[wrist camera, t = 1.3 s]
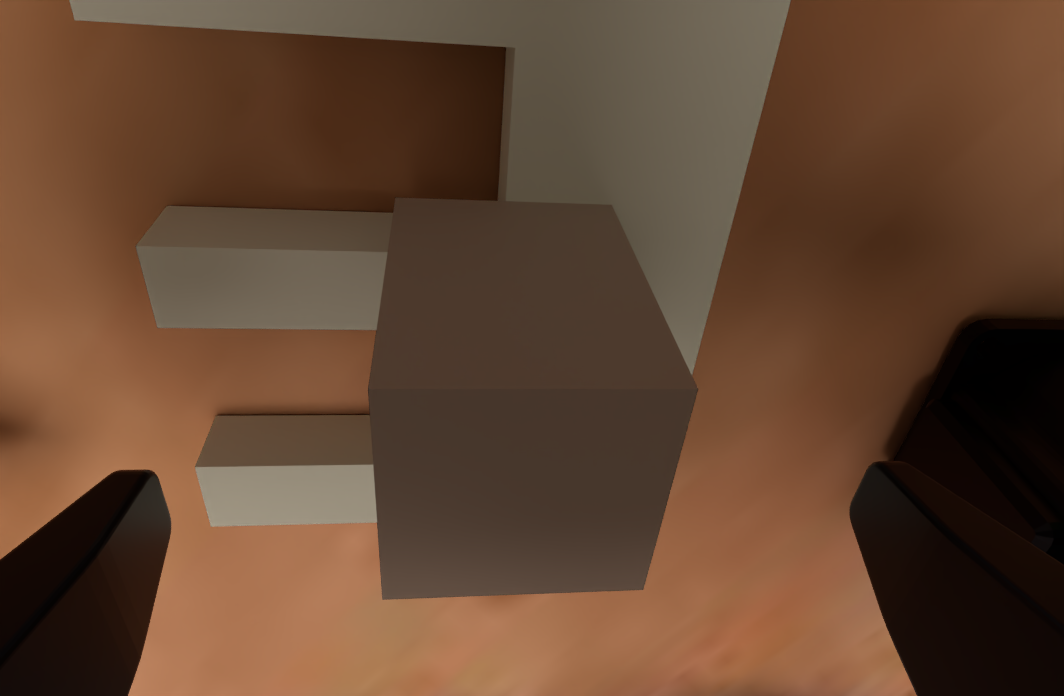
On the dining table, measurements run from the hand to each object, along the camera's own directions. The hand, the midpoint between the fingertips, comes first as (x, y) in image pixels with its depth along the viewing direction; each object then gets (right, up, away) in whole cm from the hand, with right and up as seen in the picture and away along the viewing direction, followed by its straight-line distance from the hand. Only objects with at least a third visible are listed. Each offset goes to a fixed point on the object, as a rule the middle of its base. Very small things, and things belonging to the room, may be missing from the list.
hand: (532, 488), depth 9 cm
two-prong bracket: (-2, +4, +5) cm, 6 cm away
